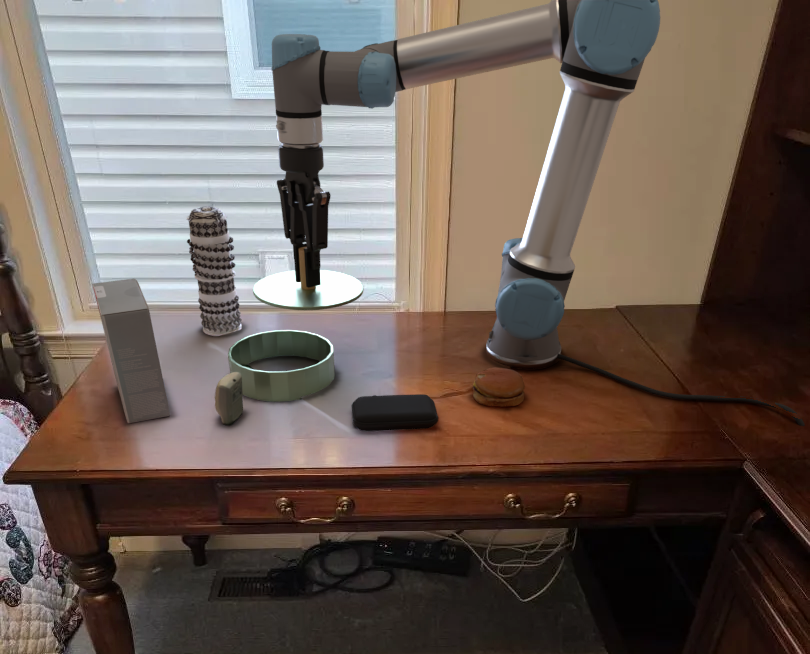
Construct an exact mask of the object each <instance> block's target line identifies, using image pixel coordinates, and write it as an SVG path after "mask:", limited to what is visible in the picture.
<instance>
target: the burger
mask: <svg viewBox="0 0 810 654" xmlns="http://www.w3.org/2000/svg"><path fill="white" fill-rule="evenodd" d="M525 388H526V385H525V381H524V378H523V376H522V374H520V373H519V372H518V371H516V370H515V369H512V368H506V367H505V368H504V367H488V368H485V369H484V370H482V371H480V372H477V373H476V374H475V377H474V381H473V384H472V390H473V392H472V397H473V400H475V401H476V402H477V403H479V404H480V405H484V406H487V407H496V406H498V407H502V408H505V407H515V406H518V405H520V404H522V403H523V401H524V400H525Z"/></svg>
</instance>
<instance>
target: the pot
mask: <svg viewBox="0 0 810 654" xmlns="http://www.w3.org/2000/svg"><path fill="white" fill-rule="evenodd" d="M275 357H301V358H308V359H312V360H315V361H319V362H318V363H316V364H313V365H310V366H306V367H304V368H297V369H292V370H291V369H290V370H287V371H286V370H278V371H275V370H274V371H268V370H260V369H255V368H254V367H252V366H250V365H249V364H251V363H253V362H256V361H260V360H263V359H268V358H275ZM227 361H228V367H229V374H230V373H233V372H239V373H240V374H241V376H242V389H243V397H244V396H245V397H247V398H249V399H253V400H256V401H263V402H274V403H275V402H276V403H279V402H280V403H281V402H282V403H283V402H292V401H293V402H294V401H300V400H303V398H302V397H307V396H310V395H312V394H315V393H318V392H321V391H322V390H324V389H326V388H328V386H330V385H331V384H332V382H333V381H334V379H335V377H336V376H335V375H336V374H335V373H336V372H335V353H334V345H333V343H331V341H330V340H329V339H328V338H326V337H324V336H322V335H320V334H317V333H313V332H309V331H305V330H295V329H279V330H275V329H274V330H269V331H263V332H257V333H254V334H250V335H247V336H245V337H243V338H241V339H239V340H237V341H235V342H234V343H233V344H232V345H231V346H230V347H229V348H228V352H227Z"/></svg>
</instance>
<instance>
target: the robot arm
mask: <svg viewBox="0 0 810 654" xmlns="http://www.w3.org/2000/svg"><path fill="white" fill-rule="evenodd" d="M660 24H661V8H660V3H659V0H550V1H549V2H548V3H545V4H541V5H536V6H532V7H529V8H524V9H519V10H516V11H515V10H514V11H511V12H506V13H503V14H498V15H493V16H490V17H486V18H482V19H478V20H472V21H469V22H465V23H461V24H456V25H451V26H448V27H443V28H440V29H439V28H438V29H434V30H431V31H427V32H426V31H425V32H422V33H418V34H414V35H410V36H405V37H401V38H398V39H394V40H388V41H384V42H380V43H378V42H376V43H371V44H368V45H364V46H363V47H362V48H360V49H356V50H355V51H333V50H332V51H330V50H325V49H321V46H320V39H319V38H318V36H316V35H313V34H303V33H283V34H282V33H281V34H278V35H275V36H274V37H273V38H272V41H271V72H272V83H273V94H274V95H273V96H274V106H275V115H276V116H275V117H276V119H275V120H276V124H275V128H276V132H277V133H276V134H277V135H276V136H277V141H278V142H279V143H280V144H279V146H278V147H277V153H278V165H279V169H280V170H281V171H283V172H285V174H284V178H282V179H277V180H276V186H277V190H278V194H279V199H280V200H279V201H280V207H281V208H280V209H281V215H282V224H283V225H282V226H283V232H284V233H283V234H284V238H285V239H286V240H289V241H290V244H291V245H292V252H293V260H294V261H293V262H294V270H295V278H296V282H301V280H300V264H299V248H301V247H307V248H305V249H304V257H305V274H306V287H308V288H310V287H314V286H318V285H321V280H320V270H321V266H322V265H321V250H325V249H327V248H328V245H329V241H328V240H329V205H330V200H331V198H332V197H331V196H332V195H331V192H330V191H324V190H323V189H322V188H321V180H320V176H319V173H320V171H321V170H323V169H324V166H325V161H324V160H325V159H324V147H323V145H322V142H323V141H324V132H323V131H324V130H323V113H322V112H323V111H322V106H343V107H344V106H345V107H356V108H357V107H358V108H368V109H375V108H389V107H390V106H392V104H393V103H394V101H395V96H396V93H397V92H403V91H406V90H409V89H415V88H419V87H424V86H428V85H433V84H437V83H442V82H448V81H452V80H456V79H461V78H465V77H470V76H475V75H480V74H484V73H485V74H486V73H489V72H493V71H499V70H502V69H508V68H513V67H517V66H522V65H527V64H531V63H537V62H540V61H541V62H542V61H546V60H550V59H555V60H556V61H557V62H558V63H560V65H561V66H560V69H559V76H560V78H561V79H562V81H563V83H564V92H563V95H562V98H561V102H560V105H559V109H558V113H557V117H556V119H555V122H554V127H553V130H552V133H551V137H550V141H549V144H548V148H547V151H546V155H545V158H544V162H543V165H542V168H541V172H540V176H539V179H538V183H537V186H536V190H535V194H534V197H533V199H532V200H533V201H532V204H531V207H530V211H529V215H528V218H527V222H526V225H525V228H524V233H523V235H522V237H516V238H511V239H508V240H506V241H505V243H504V244H503V249H502V253H501V257H502V259H501V268H500V269H501V271H500V278H499V284H498V285H499V286H498V290H497V295H496V296H497V297H496V299H495V303H494V308H495V309H494V311H495V314H496V319H495V322H494V324H493V326H492V328H491V331H489V332H488V333H489V334H488V338H487V340H486V344H485V353H486V356H487V357H488V358H489V359H490V360H492V361H493V362H496V363H498V364H500V365H503V366H506V367H507V366H508V367H509V368H508V369H513V370H526V371H528V370H529V371H531V370H532V371H533V370H541V369H545V368H549V367H552V366H554V365H555V364H557V363H558V362H559V361H560V360H562V361H564V362H568V363H570V364H573V365H576V366H579V367H581V368H585V369H586V370H588V371H592V372H594V373H597V374H600V375H602V376H605V377H607V378H609V379H612V380H614V381H617V382H619V383H621V384H624V385H627V386H630V387H632V388H635V389H638V390H640V391H642V392H646V393H648V394H651V395H655V396H659V397H664V398H668V399H674V400H683V401H684V400H685V401H686V400H687V401H712V402H743V403H750V404H754V405H755V404H756V405H760V406H764V407H770V408H774V409H777V408H776V407H774V406H771V405H769V404H767V403H764V402H761V401H758V400H753V399H746V398H720V397H725V396H726V395H710V394H681V393H680V394H679V393H673V392H668V391H662V390H658V389H654V388H651V387H648V386H646V385H644V384H641V383H638V382H636V381H634V380H633V381H632V380H630V379H627V378H624V377H622V376H619V375H617V374H615V373H612V372H609V371H608V370H605V369H602V368H600V367H597V366H594V365H591V364H590V363H586V362H584V361H581V360H579V359H575V358H573V357H569V356H567V355H563V354H562V345H561V342H560V337H559V331H558V326H559V325H560V323H561V321H562V319H563V317H564V314H565V307H566V306H565V305H566V304H565V300H566V297H567V294H568V291H569V287H570V284H571V282H572V281H571V280H572V278H573V275H574V272H575V269H576V265H575V263H574V260H573V258H572V257H571V254H572V250H573V247H574V245H575V242H576V238H577V234H578V232H579V228H580V226H581V222H582V219H583V217H584V213H585V210H586V206H587V204H588V201H589V198H590V195H591V191H592V189H593V185H594V183H595V180H596V176H597V174H598V171H599V167H600V164H601V161H602V158H603V155H604V152H605V148H606V146H607V142H608V140H609V137H610V134H611V132H612V131H611V130H612V127H613V124H614V121H615V118H616V115H617V112H618V109H619V106H620V102H621V101H622V100H623V99H625V98H626V97H628V96H629V95H631V94H632V93H634V92H635V90H636V87H637V83H638V80H639V78H640V75H641V72H642V69H643V66H644V63H645V60H646V58H647V56H648V55H649V54H650V52H651V51H652V48H653V47H654V45H655V43H656V41H657V38H658V35H659V31H660ZM718 397H719V398H718ZM775 404H776V405H778V406H779V407H781V408H783V409H784V410H786V411H789V412H792V413H796V414H798V413H797V411H795V410H794V409H793V408H791V407H789V406H788V405H785V404H783V403H779V402H775ZM791 418H793V420H794V421H795V422H796V424H797V425H799V426H800V427H805V422H804V421H803V418H801V419H798V418H795V417H793V416H791Z"/></svg>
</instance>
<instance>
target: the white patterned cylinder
mask: <svg viewBox="0 0 810 654" xmlns="http://www.w3.org/2000/svg"><path fill="white" fill-rule="evenodd" d="M227 219H228V215H227V214H226V213H224V212H223V210H221V208H219V207H216V206H210V205H209V206H207V205H206V206H198V207H195V208H193V209H191V210H190V212H189V215H187V216H186V220H187V221H188V228H189V238H188V239H187V240H186V243H187V244H188V246H189V251H188V252H189V254H190V261H191V262H192V271H193V272H194V278H195V279H196V280H197V286H198V290H197V291H198V300H197V302H198V303H199V306H198V308H199V310H200V312H201V313H200V315H199V317H200V319H201V322H200V323H201V326H202V332H203V333H204V334H205V335H208V336H211V337H212V336H213V337H219V336H224V335H228V334H231V333H234V332H238V331H241V330H242V329H243V325H242V318H241V316H242V315H241V314H242V312H241V311H240V303H239V299H240V297H239V296H238V294H237V289H236V288H237V287H236V285H235V279H234V278H235V277H236V271H235V270H234V268H235V267H236V263H235V262H233V261H234V260H235V257H236V256H235V255H234V254H232V253H231V252H232V251H234V250H235V246H234V245H233V244H232V243H234V238H233V237H232V236H230V230H229V229H228V221H227Z"/></svg>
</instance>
